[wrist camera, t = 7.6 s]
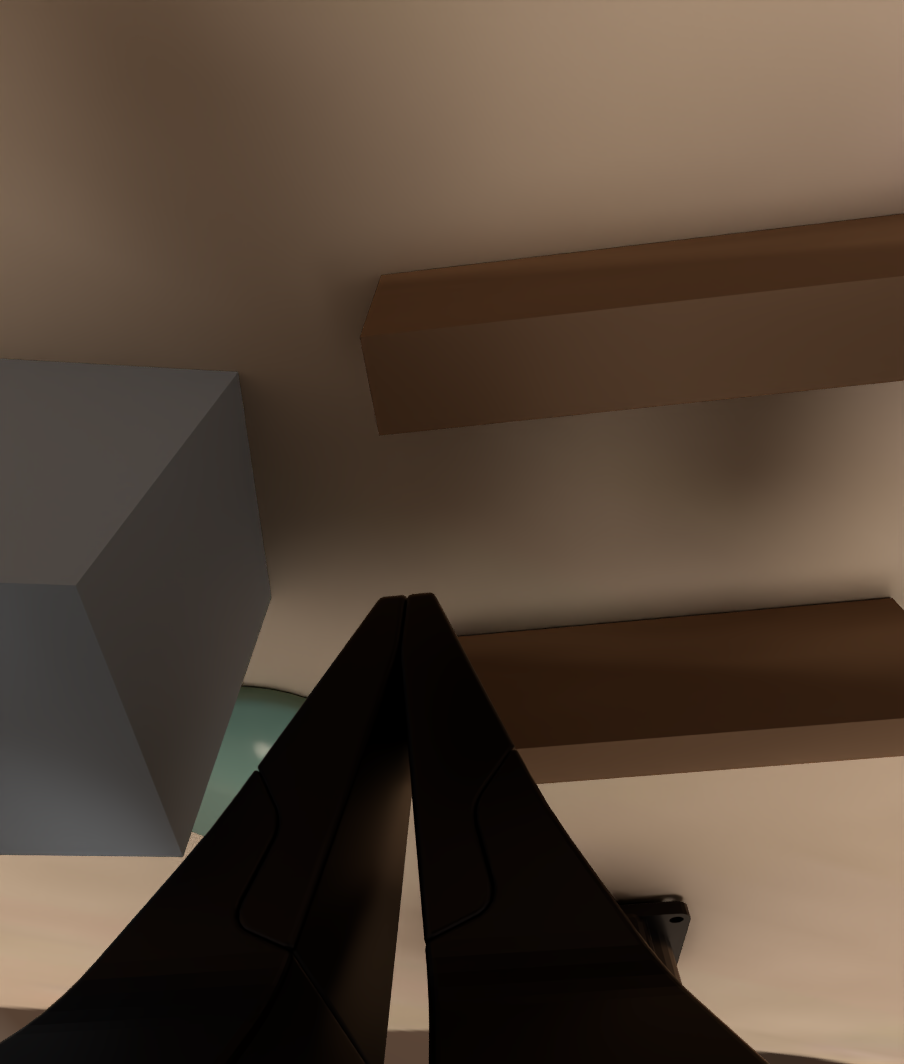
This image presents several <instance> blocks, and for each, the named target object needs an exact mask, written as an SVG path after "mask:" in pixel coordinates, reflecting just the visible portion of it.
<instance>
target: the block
mask: <svg viewBox="0 0 904 1064" xmlns="http://www.w3.org/2000/svg"><path fill="white" fill-rule="evenodd" d="M270 600H271V591H270V584H269V578H268V571H267V564H266V557H265V550H264V544H263V537H262V530H261V523H260V517H259V510H258V503H257V496H256V489H255V483H254V476H253V469H252V462H251V456H250V449H249V442H248V435H247V428H246V422H245V415H244V408H243V401H242V395H241V388H240V381H239V374H238V372H230V371H212V370H195V369H177V368H159V367H142V366H124V365H106V364H88V363H71V362H53V361H35V360H17V359H0V855H62V856H151V857H183V856H184V853H185V850H186V847H187V844H188V841H189V838H190V835H191V832H192V829H193V826H194V823H195V820H196V817H197V815H198V812H199V809H200V806H201V803H202V800H203V797H204V794H205V791H206V788H207V785H208V782H209V779H210V776H211V773H212V770H213V767H214V765H215V762H216V759H217V756H218V753H219V750H220V747H221V744H222V741H223V738H224V735H225V732H226V729H227V726H228V723H229V720H230V718H231V715H232V712H233V709H234V706H235V703H236V700H237V697H238V694H239V691H240V688H241V685H242V682H243V679H244V676H245V673H246V671H247V668H248V665H249V662H250V659H251V656H252V653H253V650H254V647H255V644H256V641H257V638H258V635H259V632H260V629H261V626H262V623H263V621H264V618H265V615H266V612H267V609H268V606H269V603H270Z"/></svg>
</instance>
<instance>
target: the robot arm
mask: <svg viewBox="0 0 904 1064" xmlns="http://www.w3.org/2000/svg"><path fill="white" fill-rule="evenodd" d="M258 770H259V771H257V770H256V771H254V772H253V773H252V774H251V776H250V777H249V778H248V780H247V781H246V782H245V784H244V785H243V787H242V788H241V789H240V791H239V792H238V793H237V795H236V796H235V797H234V799H233V800H232V801H231V803H230V804H229V805H228V807H227V808H226V809H225V810H224V812H223V813H222V814H221V816H220V817H219V818H218V820H217V821H216V822H215V824H214V825H213V826H212V827H211V829H210V830H209V831H208V832H207V834H206V835H205V836H204V837H203V838H202V839H201V841H200V842H199V843H198V844H197V845H196V847H195V848H194V849H193V850H192V851H191V853H190V854H189V855H188V856H187V857H186V859H185V860H184V861H183V862H182V863H181V865H180V866H179V867H178V868H177V869H176V870H175V871H174V873H173V874H172V875H171V876H170V877H169V878H168V879H167V881H166V882H165V883H164V884H163V885H162V886H161V887H160V889H159V890H158V891H157V892H156V893H155V894H154V895H153V897H152V898H151V899H150V900H149V901H148V902H147V903H146V905H145V906H144V907H143V908H142V909H141V910H140V911H139V913H138V914H137V915H136V916H135V917H134V918H133V919H132V921H131V922H130V923H129V924H128V925H127V926H126V927H125V929H124V930H123V931H122V932H121V933H120V934H119V935H118V937H117V938H116V939H115V940H114V941H113V942H112V943H111V945H110V946H109V947H108V948H107V949H106V950H105V951H104V953H103V954H102V955H101V956H100V957H99V958H98V959H97V961H96V962H95V963H94V964H93V965H92V966H91V967H90V968H89V969H88V970H87V972H86V973H85V974H84V975H83V976H82V977H81V978H80V979H79V980H78V981H77V982H76V983H75V984H74V985H73V986H72V987H71V988H70V989H69V990H68V991H67V992H66V993H65V994H64V995H63V996H62V997H60V998H59V999H58V1000H57V1001H56V1002H55V1003H54V1004H52V1005H51V1006H50V1007H49V1008H48V1009H47V1010H45V1012H43V1013H42V1014H41V1015H39V1016H38V1017H37V1018H35V1019H34V1020H33V1021H31V1022H30V1023H29V1024H28V1025H26V1026H25V1027H23V1028H22V1029H20V1030H19V1031H17V1032H16V1033H14V1034H13V1035H11V1036H10V1037H8V1038H7V1039H5V1040H3V1041H2V1042H0V1064H384V1057H385V1047H386V1038H387V1028H388V1018H389V1009H390V999H391V989H392V980H393V970H394V961H395V951H396V941H397V932H398V922H399V912H400V903H401V893H402V883H403V874H404V864H405V855H406V845H407V835H408V826H409V816H410V806H411V797H412V802H413V813H414V825H415V836H416V848H417V860H418V871H419V883H420V894H421V906H422V917H423V929H424V940H425V943H426V948H425V952H426V964H427V979H428V999H429V1064H769V1063H768V1062H767V1061H766V1060H765V1059H764V1058H762V1057H761V1056H760V1055H759V1054H758V1053H757V1052H756V1051H755V1050H754V1049H752V1048H751V1047H750V1046H749V1045H748V1044H747V1043H746V1042H745V1041H744V1040H742V1039H741V1038H740V1037H739V1036H738V1035H737V1034H736V1033H735V1032H734V1031H732V1030H731V1029H730V1028H729V1027H728V1026H727V1025H726V1024H725V1023H724V1022H722V1021H721V1020H720V1019H719V1018H718V1017H717V1016H716V1015H715V1014H713V1013H712V1012H711V1011H710V1010H709V1009H708V1008H707V1007H706V1006H705V1005H703V1004H702V1003H701V1002H700V1001H699V1000H698V999H697V998H696V997H695V996H693V995H692V994H691V993H690V992H689V991H688V990H687V989H686V988H685V987H684V986H683V985H682V982H681V979H680V975H679V972H678V968H677V963H678V960H679V956H680V953H681V950H682V946H683V943H684V940H685V936H686V933H687V930H688V926H689V923H690V920H691V918H690V914H689V911H688V908H687V904H685V903H684V902H680V901H672V902H657V903H642V904H627V905H618V904H617V902H616V901H615V899H614V898H613V897H612V895H611V894H610V892H609V891H608V890H607V888H606V887H605V885H604V884H603V883H602V881H601V880H600V879H599V877H598V876H597V874H596V873H595V872H594V870H593V869H592V867H591V866H590V865H589V863H588V862H587V860H586V859H585V858H584V856H583V855H582V854H581V852H580V851H579V849H578V848H577V847H576V845H575V844H574V842H573V841H572V840H571V838H570V837H569V835H568V834H567V832H566V831H565V829H564V828H563V826H562V825H561V823H560V822H559V820H558V819H557V817H556V816H555V814H554V813H553V811H552V810H551V808H550V807H549V805H548V804H547V802H546V800H545V798H544V797H543V795H542V793H541V792H540V790H539V788H538V786H537V785H536V783H535V781H534V779H533V778H532V776H531V774H530V773H529V771H528V769H527V767H526V765H525V763H524V761H523V759H522V758H521V756H520V754H519V752H518V751H517V750H515V745H514V743H513V741H512V739H511V737H510V736H509V734H508V732H507V730H506V728H505V726H504V724H503V722H502V721H501V719H500V717H499V715H498V713H497V711H496V709H495V707H494V705H493V704H492V702H491V700H490V698H489V696H488V694H487V692H486V690H485V688H484V687H483V685H482V683H481V681H480V679H479V677H478V675H477V673H476V671H475V670H474V668H473V666H472V664H471V662H470V660H469V658H468V656H467V655H466V653H465V651H464V649H463V647H462V645H461V643H460V641H459V639H458V638H457V636H456V634H455V632H454V630H453V628H452V626H451V624H450V622H449V621H448V619H447V617H446V615H445V613H444V611H443V609H442V607H441V605H440V604H439V602H438V600H437V598H436V596H435V595H434V594H433V593H430V592H429V593H418V594H411V595H409V596H408V598H407V597H406V596H404V595H397V596H386V597H382V598H380V599H379V600H378V601H377V602H376V604H375V605H374V607H373V608H372V609H371V611H370V612H369V613H368V615H367V616H366V618H365V619H364V620H363V622H362V623H361V624H360V626H359V627H358V629H357V630H356V631H355V633H354V634H353V636H352V637H351V638H350V640H349V641H348V642H347V644H346V645H345V647H344V648H343V649H342V651H341V652H340V653H339V655H338V656H337V658H336V659H335V660H334V662H333V663H332V664H331V666H330V667H329V669H328V670H327V671H326V673H325V674H324V675H323V677H322V678H321V680H320V681H319V682H318V684H317V685H316V686H315V688H314V689H313V691H312V692H311V693H310V695H309V696H308V697H307V699H306V700H305V702H304V703H303V704H302V706H301V707H300V708H299V710H298V711H297V713H296V714H295V715H294V717H293V718H292V720H291V721H290V722H289V724H288V725H287V726H286V728H285V729H284V731H283V732H282V733H281V735H280V736H279V737H278V739H277V740H276V742H275V743H274V744H273V746H272V747H271V748H270V750H269V751H268V753H267V754H266V755H265V757H264V758H263V759H262V761H261V762H260V764H259V765H258Z"/></svg>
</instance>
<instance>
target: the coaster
mask: <svg viewBox="0 0 904 1064" xmlns="http://www.w3.org/2000/svg"><path fill="white" fill-rule="evenodd" d="M305 700H306V698H303V697H300V696H296V695H293V694H290V693H285V692H281V691H276V690H270V689H263V688H255V687H241V688H240V691H239V694H238V697H237V700H236V703H235V706H234V709H233V712H232V715H231V718H230V720H229V723H228V726H227V729H226V732H225V735H224V738H223V741H222V744H221V747H220V750H219V753H218V756H217V759H216V762H215V765H214V767H213V770H212V773H211V776H210V779H209V782H208V785H207V788H206V791H205V794H204V797H203V800H202V803H201V806H200V809H199V812H198V815H197V817H196V820H195V823H194V826H193V829H192V832H194V833H197V834H199V835H203V836H205V835H206V834H207V832H208V831H209V830H210V829H211V827H212V826H213V825H214V824H215V822H216V821H217V820H218V818H219V817H220V816H221V814H222V813H223V812H224V810H225V809H226V808H227V807H228V805H229V804H230V803H231V801H232V800H233V799H234V797H235V796H236V795H237V793H238V792H239V791H240V789H241V788H242V787H243V785H244V784H245V782H246V781H247V780H248V778H249V777H250V776H251V774H252V773H253V772H254V771H256V770H257V771H259V770H258V765H259V764H260V762H261V761H262V759H263V758H264V757H265V755H266V754H267V753H268V751H269V750H270V748H271V747H272V746H273V744H274V743H275V742H276V740H277V739H278V737H279V736H280V735H281V733H282V732H283V731H284V729H285V728H286V726H287V725H288V724H289V722H290V721H291V720H292V718H293V717H294V715H295V714H296V713H297V711H298V710H299V708H300V707H301V706H302V704H303V703H304V702H305Z"/></svg>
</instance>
